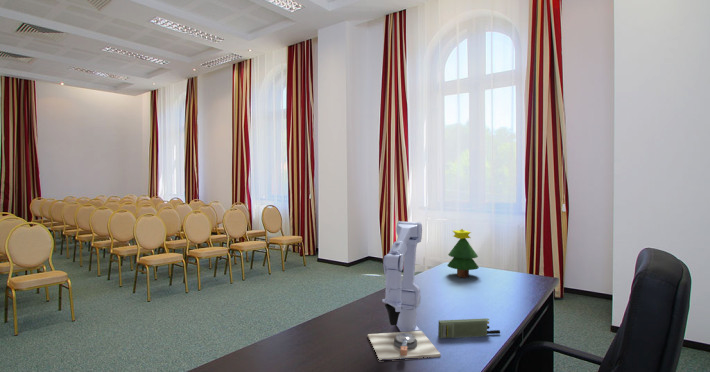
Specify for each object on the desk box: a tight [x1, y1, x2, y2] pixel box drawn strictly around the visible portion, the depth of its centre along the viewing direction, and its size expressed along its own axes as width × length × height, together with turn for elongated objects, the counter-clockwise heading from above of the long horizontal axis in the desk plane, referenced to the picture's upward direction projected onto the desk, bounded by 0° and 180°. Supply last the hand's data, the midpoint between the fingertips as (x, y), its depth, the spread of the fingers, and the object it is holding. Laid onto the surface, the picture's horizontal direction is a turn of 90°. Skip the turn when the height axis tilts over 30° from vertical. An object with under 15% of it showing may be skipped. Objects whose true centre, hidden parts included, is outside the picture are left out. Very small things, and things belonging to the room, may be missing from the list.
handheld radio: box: [437, 317, 501, 339], centre depth 149 cm, size 7×3×25 cm
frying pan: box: [396, 333, 415, 356], centre depth 135 cm, size 7×16×2 cm, turn 170°
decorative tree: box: [446, 228, 479, 278], centre depth 239 cm, size 19×19×30 cm
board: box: [367, 330, 442, 361], centre depth 140 cm, size 20×22×2 cm
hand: (393, 324), depth 137 cm, fingers closed
